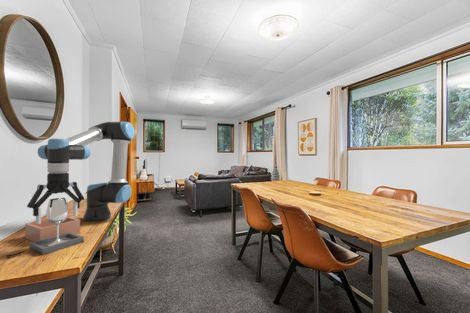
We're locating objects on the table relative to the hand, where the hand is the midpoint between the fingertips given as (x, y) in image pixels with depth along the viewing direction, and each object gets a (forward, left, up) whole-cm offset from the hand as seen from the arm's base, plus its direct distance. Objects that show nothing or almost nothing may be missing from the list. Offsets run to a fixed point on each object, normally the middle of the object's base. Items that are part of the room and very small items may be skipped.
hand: (57, 219), depth 94 cm
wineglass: (0, 0, -11) cm, 11 cm away
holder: (-5, -17, -12) cm, 21 cm away
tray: (0, 0, -12) cm, 12 cm away
